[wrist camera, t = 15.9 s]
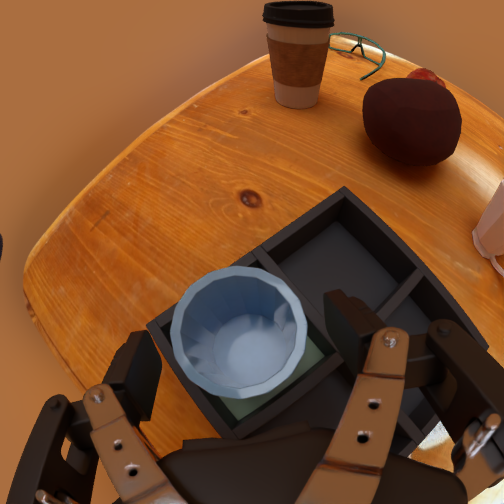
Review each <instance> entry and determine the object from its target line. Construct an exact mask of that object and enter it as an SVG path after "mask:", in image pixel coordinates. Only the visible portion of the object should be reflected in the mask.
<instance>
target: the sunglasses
mask: <svg viewBox="0 0 504 504" xmlns="http://www.w3.org/2000/svg"><path fill="white" fill-rule="evenodd" d="M340 34H345V35H347V34H349V35H352V36H357V37H358V44H357V45H356V46H354V47H353V49H352V50H351V51H346V50H341V49H336V48H332V47H330V42H329V47H328V48H329V49H334V50H338V51H344V52H349V53H351V52H353V51H354V50H355V48H356V47H357V46H358V47H361V52H362V55H363V56H364V58H366V59H368V60H370V61H372V62H374V63H376V64H378V65H380V66H379V67H377V68H376V69H375V70H373V71H372V72H370V73H369V74H367V75H365V76H363V77H362V78H360V80H363V79H366V78H367V77H369V76H371V75H372V74H374V73H375V72H377V71H378V70H379V69H380V68H381V67H382V65H383V64H384V63H385V58H386V53H385V51H384V50H383V49H382V48H381V47H380V46H379V45H378V44H377V43H376V42H374V41H372V40H371V39H368V38H366V37H364V36H360V35H357V34H353V33H345V32H340V33H332V34H329V39H330V37H331V35H340ZM362 39H365V40H368V41H370V42H372V43H374V44H376V45H377V46H378V47H379V48H380V49H381V50H382V51H383V57H382V61H381V63H377V62H375V61H373V60H371V59H370V58H368V57H366V56H365V54H364V50H363V47H362V45H361V44H362V43H361V41H362ZM359 40H360V44H359Z"/></svg>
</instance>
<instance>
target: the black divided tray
mask: <svg viewBox="0 0 504 504" xmlns="http://www.w3.org/2000/svg"><path fill="white" fill-rule="evenodd" d="M231 266H243V267H253V268H259V269H262V270H264V271H266V272H268V273H270V274H272V275H274V276H276V277H278V278H280V279H282V281H284V282H285V283H286V284H287V285H288V286H289V288H290V289H291V290H292V291H293V292H294V293H295V295H296V296H297V297H298V298H299V300H300V302H301V305H302V308H303V311H304V314H305V317H306V320H307V323H308V324H307V325H308V330H307V340H306V350H305V351H304V352H305V353H304V355H303V357H302V358H301V360H300V362H299V364H298V366H297V367H296V369H295V371H294V372H293V374H292V375H291V376H290V377H289V378H288V379H287V380H286V381H284V382H283V383H282V384H280V385H279V386H278V387H276V388H275V389H273V390H272V391H271V392H268V393H267V394H263V395H259V396H255V397H251V398H246V399H233V398H227V397H221V396H216V395H213V394H210V393H209V392H207V391H206V390H204V389H202V388H201V387H199V386H198V385H196V384H195V383H193V382H192V381H190V379H188V377H187V376H186V374H185V373H184V371H183V370H182V368H181V367H180V365H179V364H178V362H177V361H176V359H175V356H174V352H173V347H172V341H171V336H170V329H171V324H172V320H173V315H174V311H175V308H176V305H177V304H178V302H177V303H176V304H174V305H173V306H172V307H170V308H169V309H167V310H166V311H164V312H163V313H162V314H160V315H159V316H157V317H156V318H155V319H153V320H152V321H150V322H149V323H148V324H146V327H147V328H148V330H149V332H150V334H151V335H152V337H153V339H154V341H155V342H156V344H157V346H158V347H159V349H160V351H161V352H162V354H163V356H164V357H165V359H166V360H167V362H168V364H169V365H170V367H171V368H172V370H173V371H174V373H175V374H176V376H177V377H178V379H179V380H180V382H181V383H182V385H183V386H184V388H185V389H186V391H187V392H188V394H189V395H190V396H191V398H192V399H193V401H194V402H195V403H196V405H197V406H198V408H199V409H200V410H201V412H202V413H203V414H204V416H205V417H206V418H207V420H208V421H209V422H210V423H211V425H212V426H213V427H214V429H215V430H216V431H217V432H218V434H219V435H220V436H221V437H222V438H223V439H235V440H245V439H249V438H251V437H254V436H256V435H259V434H261V433H264V432H266V431H269V430H271V429H273V428H276V427H279V426H284V425H288V424H292V423H296V422H300V421H304V420H308V423H309V426H310V427H325V428H332V429H337V427H338V425H339V422H340V420H341V418H342V415H343V413H344V410H345V408H346V405H347V403H348V400H349V398H350V395H351V392H352V390H353V387H354V384H355V382H356V380H355V378H354V376H353V374H352V373H351V371H350V369H349V368H348V366H347V364H346V363H345V361H344V359H343V358H342V356H341V354H340V353H339V351H338V349H337V348H336V346H335V344H334V343H333V341H332V340H331V338H330V336H329V335H328V332H327V329H326V325H325V315H324V302H323V294H324V293H325V292H329V291H333V290H337V289H341V290H342V291H343V292H344V293H345V295H346V296H347V297H352V296H354V297H356V298H359V299H361V300H363V301H364V302H365V303H366V304H367V305H368V307H370V309H371V310H372V311H373V312H374V313H375V314H376V315H377V316H378V317H379V318H380V319H381V320H382V321H383V322H384V323H385V324H386V325H387V326H388V327H396V328H400V329H402V330H404V331H405V332H406V333H407V334H408V336H411V335H418V334H424V333H427V330H428V326H429V324H430V323H431V322H433V321H435V320H438V319H448V320H452V321H454V322H455V323H457V324H458V325H459V326H460V327H461V328H462V329H463V330H465V331H466V332H467V333H468V334H469V335H470V336H471V337H472V338H473V339H474V340H475V341H476V342H477V343H478V344H480V345H481V346H482V347H483V348H484V349H485V350H486V351H487V350H488V348H489V345H488V344H487V342H486V341H485V339H484V338H483V336H482V335H481V334H480V332H479V331H478V329H477V328H476V326H475V325H474V324H473V322H472V321H471V320H470V318H469V317H468V316H467V314H466V313H465V312H464V310H463V309H462V308H461V306H460V305H459V304H458V303H457V301H456V300H455V299H454V298H453V296H452V295H451V294H450V293H449V291H448V290H447V289H446V288H445V287H444V285H443V284H442V283H441V282H440V281H439V279H438V278H437V277H436V276H435V275H434V274H433V273H432V271H431V270H430V269H429V268H428V267H427V266H426V265H425V264H424V262H423V261H422V260H421V259H420V258H419V257H418V256H417V255H416V254H415V253H414V252H413V251H412V250H411V248H410V247H409V246H408V245H407V244H406V243H405V242H404V241H403V240H402V239H401V238H400V237H399V236H398V235H397V234H396V233H395V232H394V231H393V230H392V229H391V228H390V227H389V226H388V225H387V224H386V223H385V222H384V221H383V220H382V219H381V218H380V217H378V216H377V215H376V214H375V213H374V212H373V211H372V210H371V209H370V208H369V207H368V206H367V205H366V204H364V203H363V202H362V201H361V200H360V199H359V198H358V197H357V196H356V195H354V194H353V193H352V192H351V191H350V190H349V189H348V188H346V187H345V186H343V187H342V188H340V189H339V190H338V191H336V192H335V193H333V194H332V195H331V196H329V197H328V198H326V199H325V200H323V201H322V202H320V203H319V204H318V205H316V206H315V207H313V208H312V209H310V210H309V211H308V212H306V213H305V214H303V215H302V216H300V217H299V218H298V219H296V220H295V221H293V222H292V223H290V224H289V225H288V226H286V227H285V228H283V229H282V230H280V231H279V232H278V233H276V234H275V235H273V236H272V237H270V238H269V239H268V240H266V241H265V242H263V243H262V244H261V245H259V246H258V247H256V248H255V249H253V250H252V251H251V252H249V253H247V254H246V255H244V256H243V257H241V258H240V259H239V260H237V261H236V262H234V263H233V264H231V265H230V266H229V267H231ZM439 421H440V419H439V418H438V416H437V415H436V413H435V412H434V410H433V408H432V407H431V405H430V404H429V402H428V401H427V399H426V398H425V396H424V395H423V393H422V392H421V391H420V389H419V388H418V387H416V388H410V389H404V390H403V395H402V400H401V405H400V410H399V414H398V419H397V423H396V427H395V431H394V435H393V438H392V442H391V446H390V449H389V451H391V452H393V453H396V454H398V455H401V456H404V457H408V456H409V455H410V454H411V453H412V452H413V451H414V450H415V449H416V448H417V445H419V444H420V443H421V442H422V441H423V440H424V439H425V437H426V436H427V435H428V434H429V433H430V432H431V431H432V430H433V428H434V427H435V426H436V425H437V424H438V422H439Z"/></svg>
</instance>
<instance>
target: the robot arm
mask: <svg viewBox="0 0 504 504" xmlns="http://www.w3.org/2000/svg"><path fill="white" fill-rule="evenodd" d="M323 302H324V315H325V325H326V329H327V332H328V335H329V336H330V338H331V340H332V341H333V343H334V344H335V346H336V348H337V349H338V351H339V353H340V354H341V356H342V358H343V359H344V361H345V363H346V364H347V366H348V368H349V369H350V371H351V373H352V374H353V376H354V378H355V380H356V382H355V384H354V387H353V390H352V392H351V395H350V398H349V400H348V403H347V405H346V408H345V410H344V413H343V415H342V418H341V420H340V422H339V425H338V427H337V429H332V428H325V427H310V426H309V423H308V420H304V421H300V422H296V423H292V424H288V425H284V426H279V427H276V428H273V429H271V430H269V431H266V432H264V433H261V434H259V435H256V436H254V437H251V438H249V439H245V440H235V439H222V438H203V439H191V440H183V447H182V449H179V450H176V451H174V452H172V453H170V454H167V455H166V456H164V457H163V458H162V457H161V456H160V454H159V453H158V452H157V450H156V449H155V448H154V446H153V445H152V444H151V442H150V441H149V439H148V438H147V437H146V435H145V434H144V432H143V431H142V429H141V428H140V427H139V424H140V421H150V419H151V414H152V410H153V405H154V400H155V396H156V392H157V387H158V383H159V379H160V374H161V370H162V361H161V357H160V355H159V353H158V351H157V348H156V346H155V344H154V342H153V340H152V338H151V335H150V333H149V332H148V331H147V330H142V331H135V332H131V333H130V335H129V337H128V340H127V342H126V343H124V344H123V345H122V346H121V347H120V348H119V349H118V350H117V351H116V353H115V356H114V359H113V360H112V362H111V365H110V366H109V368H108V370H107V372H106V375H105V377H104V379H103V381H102V383H101V384H97V385H95V386H93V387H91V388H89V389H88V390H87V391H86V392H85V394H84V396H83V400H80V401H76V402H72V403H70V402H69V400H68V399H67V398H66V397H65V396H64V395H61V394H58V395H55V396H52V397H51V398H49V399H48V400H47V401H46V402H45V404H44V406H43V408H42V410H41V412H40V414H39V417H38V419H37V421H36V423H35V425H34V427H33V429H32V432H31V434H30V436H29V439H28V441H27V443H26V446H25V448H24V451H23V453H22V456H21V459H20V461H19V464H18V467H17V470H16V472H15V475H14V478H13V481H12V485H11V488H10V491H9V494H8V498H7V502H6V504H90V502H91V497H92V491H93V485H94V479H95V475H96V469H97V465H98V460H99V457H100V459H101V461H102V464H103V465H104V468H105V470H106V472H107V474H108V476H109V478H110V479H111V482H112V483H113V485H114V487H115V489H116V491H117V492H118V494H119V496H120V497H119V498H118V499H117V500H116V501H115V502H114V503H112V504H468V502H469V501H470V500H471V499H473V498H474V497H476V496H477V495H478V494H480V493H481V492H482V491H484V490H485V489H486V488H490V487H493V486H495V485H497V484H498V483H499V482H500V481H502V480H503V479H504V368H503V367H502V366H501V365H500V364H499V363H498V362H497V361H496V360H495V359H494V358H493V357H492V356H491V355H490V354H489V353H488V352H487V351H486V350H485V349H484V348H483V347H482V346H481V345H480V344H478V343H477V342H476V341H475V340H474V339H473V338H472V337H471V336H470V335H469V334H468V333H467V332H466V331H465V330H463V329H462V328H461V327H460V326H459V325H458V324H457V323H455V322H454V321H452V320H448V319H438V320H435V321H433V322H431V323H430V324H429V326H428V330H427V333H424V334H418V335H411V336H408V334H407V333H406V332H405V331H404V330H402V329H400V328H396V327H388V326H387V325H386V324H385V323H384V322H383V321H382V320H381V319H380V318H379V317H378V316H377V315H376V314H375V313H374V312H373V311H372V310H371V309H370V307H368V305H367V304H366V303H365V302H364V301H363V300H361V299H359V298H356V297H354V296H352V297H347V296H346V295H345V293H344V292H343V291H342V290H341V289H337V290H333V291H329V292H325V293H324V294H323ZM416 387H418V388H419V389H420V391H421V392H422V393H423V395H424V396H425V398H426V399H427V401H428V402H429V404H430V405H431V407H432V408H433V410H434V412H435V413H436V415H437V416H438V418H439V419H440V421H441V422H442V424H443V426H444V427H445V429H446V430H447V432H448V434H449V435H450V437H451V438H452V440H453V442H454V443H455V445H454V447H453V449H452V453H451V459H452V463H453V466H454V472H453V473H452V472H450V471H447V470H444V469H441V468H437V467H434V466H431V465H427V464H424V463H421V462H418V461H415V460H412V459H410V458H407V457H404V456H401V455H398V454H396V453H393V452H391V451H389V449H390V446H391V442H392V438H393V435H394V431H395V427H396V423H397V419H398V414H399V410H400V405H401V400H402V395H403V390H404V389H410V388H416ZM65 437H66V438H67V439H68V440H69V441H70V442H71V445H70V448H69V451H68V455H67V458H66V461H65V460H64V459H63V457H62V455H61V447H62V445H63V442H64V439H65Z"/></svg>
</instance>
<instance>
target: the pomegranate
mask: <svg viewBox="0 0 504 504" xmlns="http://www.w3.org/2000/svg"><path fill="white" fill-rule="evenodd" d="M406 78H412V79H424V80H431V81H433V82H435V83H437V84H439V85H441V86H443V87H444V88H446V86H445V83H444V82H443V81H442V80H441V79H439V78H438V77H437V76H436V75H435V74H434V73H433V72H432V71H430V70H427V69H424V68H422V69H421V68H419V69H416V70H415V71H412V72H411V73H410V74H409V75H408V76H407V77H406Z"/></svg>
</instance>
